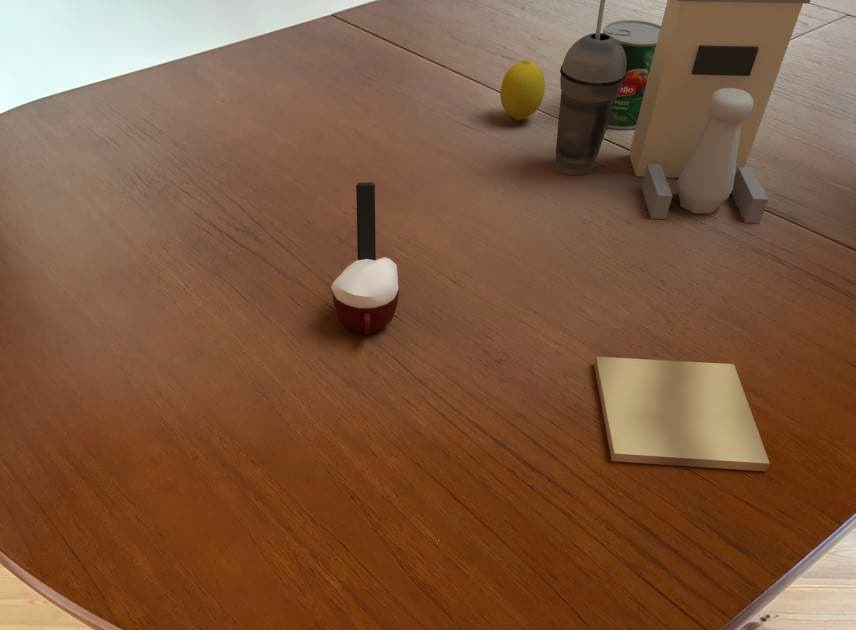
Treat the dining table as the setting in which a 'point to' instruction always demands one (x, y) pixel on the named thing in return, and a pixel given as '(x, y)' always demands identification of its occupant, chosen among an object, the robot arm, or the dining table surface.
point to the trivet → (678, 414)
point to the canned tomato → (632, 68)
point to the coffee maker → (708, 89)
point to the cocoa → (366, 275)
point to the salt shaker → (715, 153)
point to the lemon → (522, 89)
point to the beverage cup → (587, 98)
